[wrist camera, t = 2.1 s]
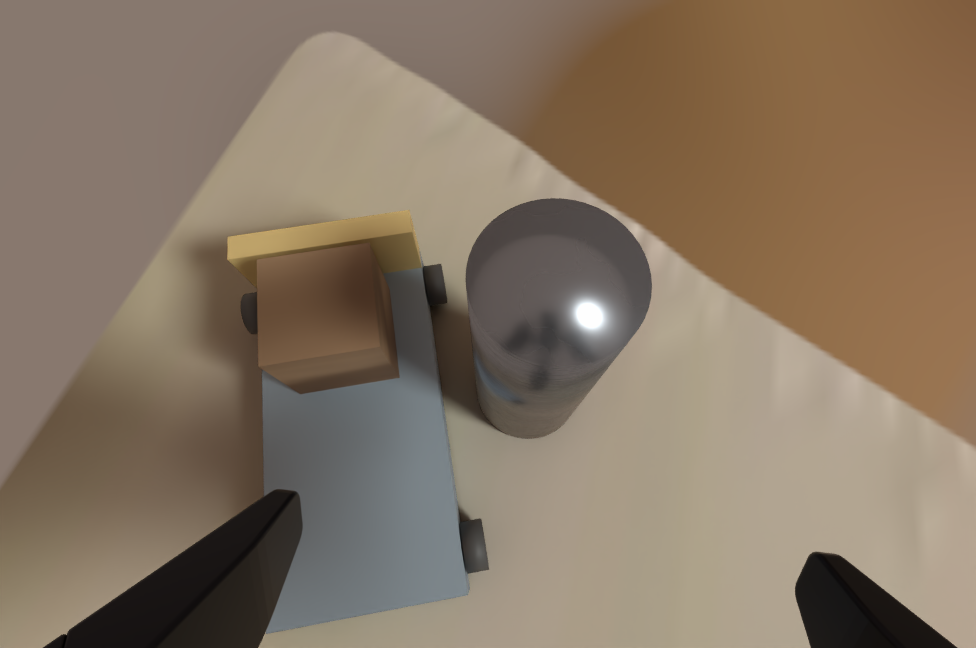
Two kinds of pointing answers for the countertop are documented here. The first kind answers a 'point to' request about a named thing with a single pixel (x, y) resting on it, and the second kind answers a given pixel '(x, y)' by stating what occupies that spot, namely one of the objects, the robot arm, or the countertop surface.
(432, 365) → the cart
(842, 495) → the countertop surface
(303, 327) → the collected block
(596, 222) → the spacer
